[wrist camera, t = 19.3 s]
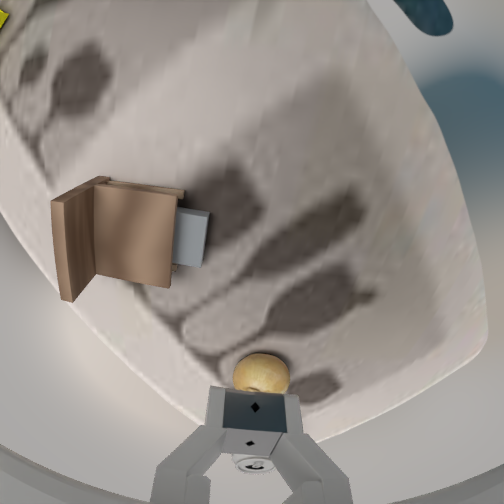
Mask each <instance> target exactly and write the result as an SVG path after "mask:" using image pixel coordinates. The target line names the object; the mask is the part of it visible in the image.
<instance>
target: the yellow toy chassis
mask: <svg viewBox="0 0 504 504" xmlns="http://www.w3.org/2000/svg"><path fill="white" fill-rule="evenodd" d="M8 15H9V14H8V13H4V12H3V11H2V10H0V28H1V26H2V25H3V23H4V21H5V20H6V18H7V17H8Z"/></svg>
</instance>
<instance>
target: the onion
mask: <svg viewBox="0 0 504 504" xmlns="http://www.w3.org/2000/svg"><path fill="white" fill-rule="evenodd" d="M289 383H290V374H289V371H288V368H287V366H286V365H285V363H284V362H283V361H281V360H280V359H279V358H277V357H275V356H272V355H268V354H262V353H258V354H251V355H249V356H247V357H245V358H244V359H243V360H241V361H240V362H239V363H238V364H237V366H236V367H235V370H234V373H233V384H234V387H235V389H236V390H243V391H250V392H254V391H255V392H267V393H281V394H284V393H285V392H286V391H287V389H288V387H289Z"/></svg>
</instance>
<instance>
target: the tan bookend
mask: <svg viewBox="0 0 504 504" xmlns="http://www.w3.org/2000/svg"><path fill="white" fill-rule="evenodd" d="M184 191H185V190H179V189H172V188H165V187H158V186H150V185H142V184H135V183H127V182H118V181H110V177H104V176H97V177H95V178H93V179H91V180H89V181H87V182H85V183H83V184H81V185H79V186H77V187H76V188H74V189H72V190H70V191H68V192H66V193H64V194H62V195H60V196H59V197H57V198H55V199H53V200H51V220H52V234H53V245H54V254H55V263H56V270H57V277H58V284H59V290H60V296H61V300H64V301H68V302H72V303H73V302H74V301H75V299H76V298H77V297H78V296H79V294H80V293H81V292H82V291H83V289H84V288H85V287H86V286H87V284H88V283H89V282H90V281H91V280H92V278H93V277H94V276H95V275H96V274H98V275H103V276H108V277H112V278H117V279H122V280H127V281H132V282H137V283H142V284H147V285H153V286H158V287H163V288H170V286H171V274H172V271H176V269H177V264H176V263H172V259H173V246H174V234H175V223H176V212H177V202H178V199H183V198H184Z"/></svg>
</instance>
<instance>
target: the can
mask: <svg viewBox="0 0 504 504" xmlns="http://www.w3.org/2000/svg"><path fill="white" fill-rule="evenodd" d="M232 461H233V462H234V463H235V464H236V466H235V467H236V469H237V470H238V471H240V472H242V473H246V474H253V475H254V474H255V475H256V474H257V475H259V474H266V473H270V472H272V471H274V470H275V469H276V467H275V466H274V464H273V463H272V461H271V460H270V458H269V457H268V456H255V455H245V454H232Z"/></svg>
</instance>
